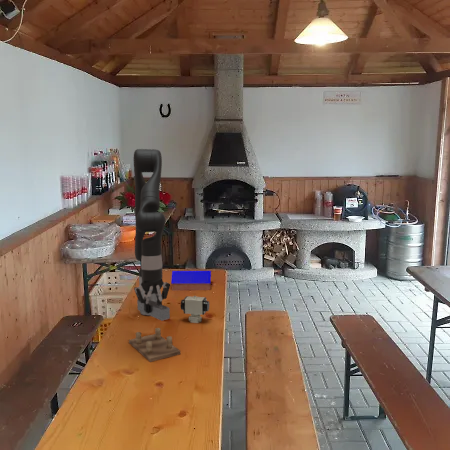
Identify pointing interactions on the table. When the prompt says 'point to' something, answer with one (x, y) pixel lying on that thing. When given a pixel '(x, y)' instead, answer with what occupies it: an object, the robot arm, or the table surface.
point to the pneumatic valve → (195, 307)
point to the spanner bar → (155, 310)
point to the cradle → (154, 346)
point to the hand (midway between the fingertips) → (153, 311)
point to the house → (191, 280)
